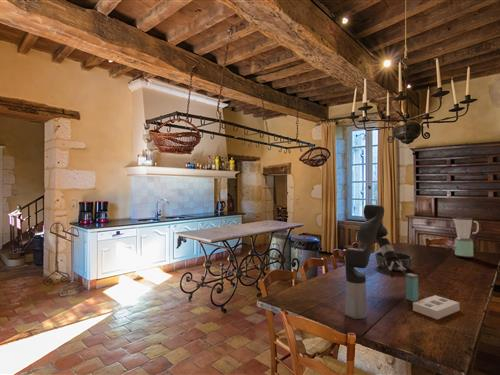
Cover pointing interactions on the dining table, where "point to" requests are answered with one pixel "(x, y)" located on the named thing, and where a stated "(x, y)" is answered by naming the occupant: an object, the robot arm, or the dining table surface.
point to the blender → (464, 237)
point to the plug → (411, 287)
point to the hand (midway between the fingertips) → (399, 276)
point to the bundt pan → (400, 256)
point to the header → (436, 307)
